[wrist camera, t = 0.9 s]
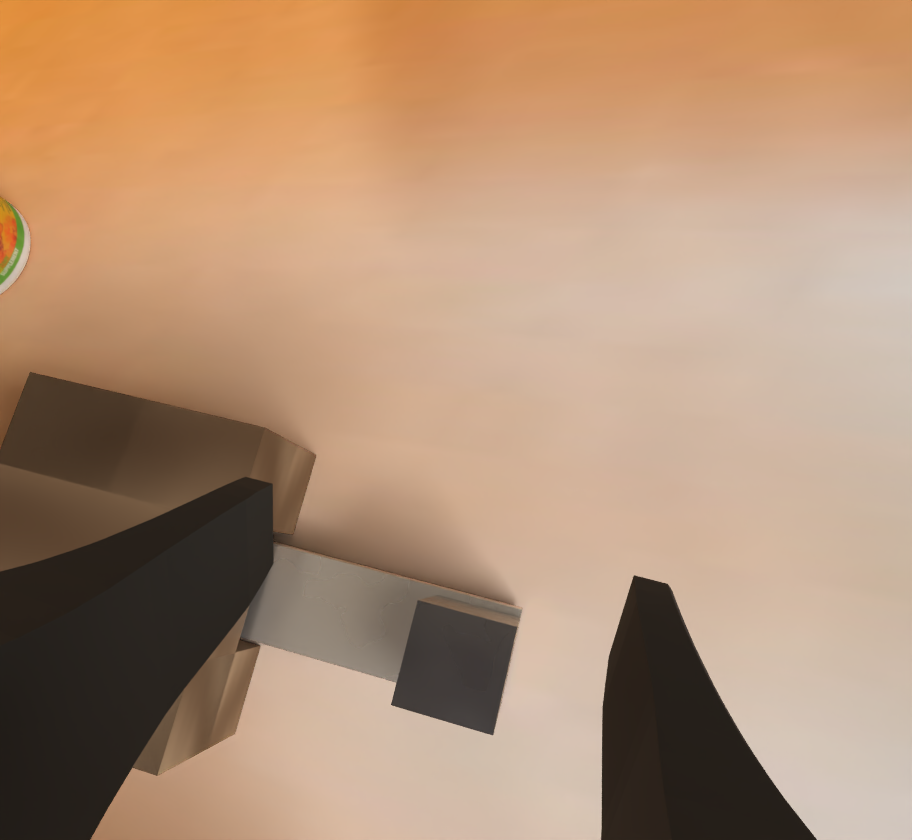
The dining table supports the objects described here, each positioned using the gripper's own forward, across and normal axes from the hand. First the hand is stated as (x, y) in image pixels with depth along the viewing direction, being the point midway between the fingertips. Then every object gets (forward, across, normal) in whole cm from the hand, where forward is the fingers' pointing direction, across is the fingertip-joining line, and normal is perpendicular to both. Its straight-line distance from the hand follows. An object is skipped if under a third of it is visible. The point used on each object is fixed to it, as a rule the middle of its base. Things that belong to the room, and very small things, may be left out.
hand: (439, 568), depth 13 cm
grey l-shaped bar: (+8, +10, +10) cm, 17 cm away
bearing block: (+8, +12, +10) cm, 18 cm away
